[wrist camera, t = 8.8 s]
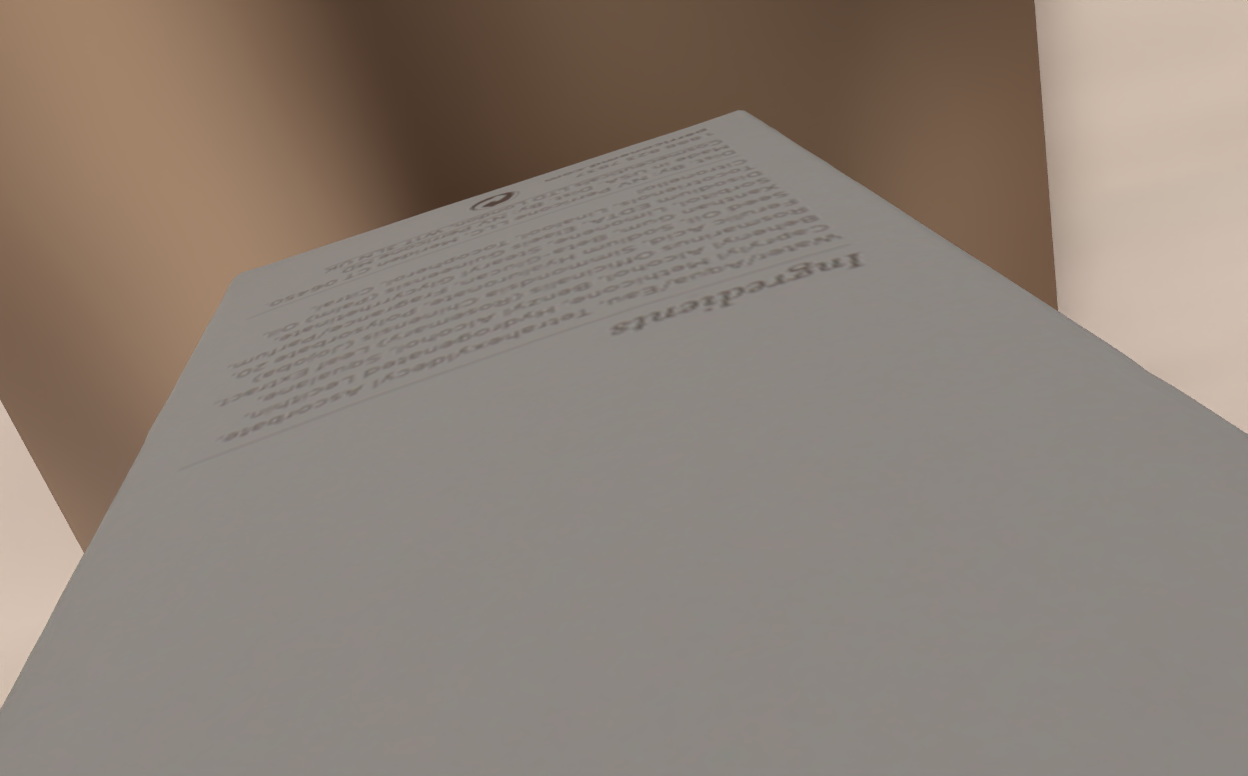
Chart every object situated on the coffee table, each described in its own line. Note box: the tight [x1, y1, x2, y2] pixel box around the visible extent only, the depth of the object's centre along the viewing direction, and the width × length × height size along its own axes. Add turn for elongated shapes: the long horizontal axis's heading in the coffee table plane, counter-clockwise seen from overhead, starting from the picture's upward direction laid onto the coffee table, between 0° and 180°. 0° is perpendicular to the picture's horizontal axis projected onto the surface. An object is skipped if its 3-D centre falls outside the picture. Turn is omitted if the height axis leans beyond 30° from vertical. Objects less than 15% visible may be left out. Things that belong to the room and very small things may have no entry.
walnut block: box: [0, 0, 1058, 553], centre depth 17 cm, size 14×14×5 cm
